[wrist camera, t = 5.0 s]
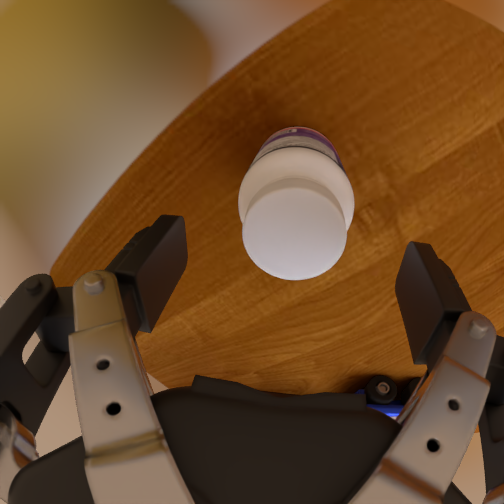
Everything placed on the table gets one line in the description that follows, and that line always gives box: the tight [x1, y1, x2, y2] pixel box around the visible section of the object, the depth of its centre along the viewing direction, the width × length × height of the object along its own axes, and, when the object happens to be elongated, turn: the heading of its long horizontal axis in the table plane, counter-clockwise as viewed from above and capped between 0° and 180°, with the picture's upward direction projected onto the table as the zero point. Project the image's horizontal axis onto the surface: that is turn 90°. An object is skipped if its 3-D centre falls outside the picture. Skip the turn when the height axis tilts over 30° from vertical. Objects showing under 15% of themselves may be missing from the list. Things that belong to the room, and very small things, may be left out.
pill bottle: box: [238, 127, 354, 280], centre depth 16 cm, size 5×5×10 cm
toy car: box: [354, 376, 421, 420], centre depth 28 cm, size 9×12×10 cm
